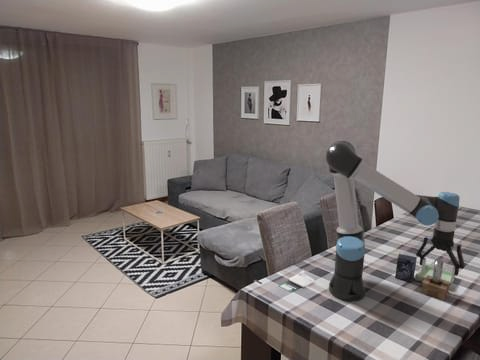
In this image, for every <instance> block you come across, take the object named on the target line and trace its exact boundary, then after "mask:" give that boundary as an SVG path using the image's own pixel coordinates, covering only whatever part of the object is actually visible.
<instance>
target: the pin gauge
mask: <svg viewBox="0 0 480 360" xmlns="http://www.w3.org/2000/svg"><path fill="white" fill-rule="evenodd" d="M444 263H445V262H444V260H442V259H439V258H438V259H437V258H436V259H435V260H434V271H433V278H432V283H434V284H437V285H440V282H441V276H442V269H444Z"/></svg>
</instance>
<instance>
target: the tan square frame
mask: <svg viewBox="0 0 480 360" xmlns="http://www.w3.org/2000/svg"><path fill="white" fill-rule="evenodd" d="M432 278H433V276H429V275H427V277H426V278H425V279H424V281H423V282H421V288H420V289H421V290H420V293H421V294H423V295H427V296H430V297H433V298H434V299H435V298H436V299H439V300H442V301H445V299H446V298H447V296H448V294H449V291H450V287H451V285H450V282H449V281H446V280H443V279H441V282H440V285H437V284H434V283H432ZM449 286H450V287H449Z"/></svg>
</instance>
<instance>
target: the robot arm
mask: <svg viewBox="0 0 480 360" xmlns="http://www.w3.org/2000/svg"><path fill="white" fill-rule="evenodd" d="M325 162H326V164H327V165H328V168H329V170H328V171H329V174H330V175H332V176H333V182H334V192H335V203H336V210H337V220H338V225H339V226H338V227H337V228H336V238H337V241H336V246H335V259H334V272H333V275H332V276H331V279H330V281H329V284H328V291H329V292H330V294H331V295H332V296H334V297H336V298H338V299H340V300H344V301H351V302H352V301H353V302H354V301H361V300H362V299H363V298H365V296H366V288H365V284H364V283H365V282H364V280H363V273H364V262H365V254H366V244H365V243H366V241H365V238H364V237H365V236H364V230H363V227H362V226H361V225H359V216H358V215H359V214H358V207H357V197H356V187H355V181H357V182H358V183H360V184H361V185H363V186H364V187H366V188H368V189H370V190H371V191H372V192H374V193H376V194H377V195H379V196H380V197H382V198H384V199H385V200H386V201H388V202H390V203H392V204H394V206H397V207H398V208H399V209H402V210H403V211H404V212H406V213H408V214H409V215H410V216H411V217H413V218H415V219H416V220H417V221H418V222H419V223H420V224H421V225H423V226H432V225H434V228H433V235H432V237H431V236H430V237H429V236H427V235H426V236H424V238H423V243H422V244H421V246H420V248H419V249H418V251H417V253H416V254H415V257H418V258H419V265H420V267H422V269H421V268H420V269H421V273H422V274H423V273H424V270H425V264H426V262H427V257H426V256H428V255H429V254H431V252H432V251H434V250H435V249H436V250H438V251H442V252H446V253H447V255H448V257H449V258H450V260H451V262H452V264H453V268H452V271H451V272H452V277H451V284H453V283H454V281H455V278H456V277H457V276H458V275H459V272H460V271H459V270H460V269H462V270H463V269H464V268H465V261H464V256H463V252H462V243H455V242H454V239H455V230H456V227H457V219H458V213H459V208H460V196H459V194H457V193H456V192H449V191H441V192H439V194H438V196H432V195H431V196H430V195H429V196H428V195H419V194H415V193H413V192H412V191H410V190H408V189H407V188H405V187H404V186H402V185H400V184H399V183H397V182H396V181H394V180H392V179H390V178H389V177H387V176H386V175H384V174H383V173H381V172H380V171H378V170H377V169H375V168H373V167H371V165H370V166H369V164H367V163H365V162H364V158H361V156H358V154H356V148H355V147H354V145H353V144H352V143H350V142H349V141H346V140H337V141H335V142H333V143H332V144H330V146H329V148H328V149H327V150H326V152H325ZM430 242H431V244H432V246H430V247H429V248H428V249H427V250H426V251H424V250H425V247H426V245H427V244H428V243H430ZM453 247H454V249H455V250H456V255H457V257H458V259H457V258H456V256H455V254H454V252H453V250H452V248H453ZM423 251H424V252H423ZM422 252H423V253H422ZM454 277H455V278H454Z"/></svg>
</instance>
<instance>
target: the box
mask: <svg viewBox="0 0 480 360" xmlns="http://www.w3.org/2000/svg"><path fill="white" fill-rule="evenodd" d="M417 257H418V256H412V255H408V254H403V253H398V256H397V261H396V269H395V274H394V275H395V276H394V278H395V279H399V280H404V281H408V282H411V283H413V282H414V281H415V274H416V273H415V272H416V266H417Z"/></svg>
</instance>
